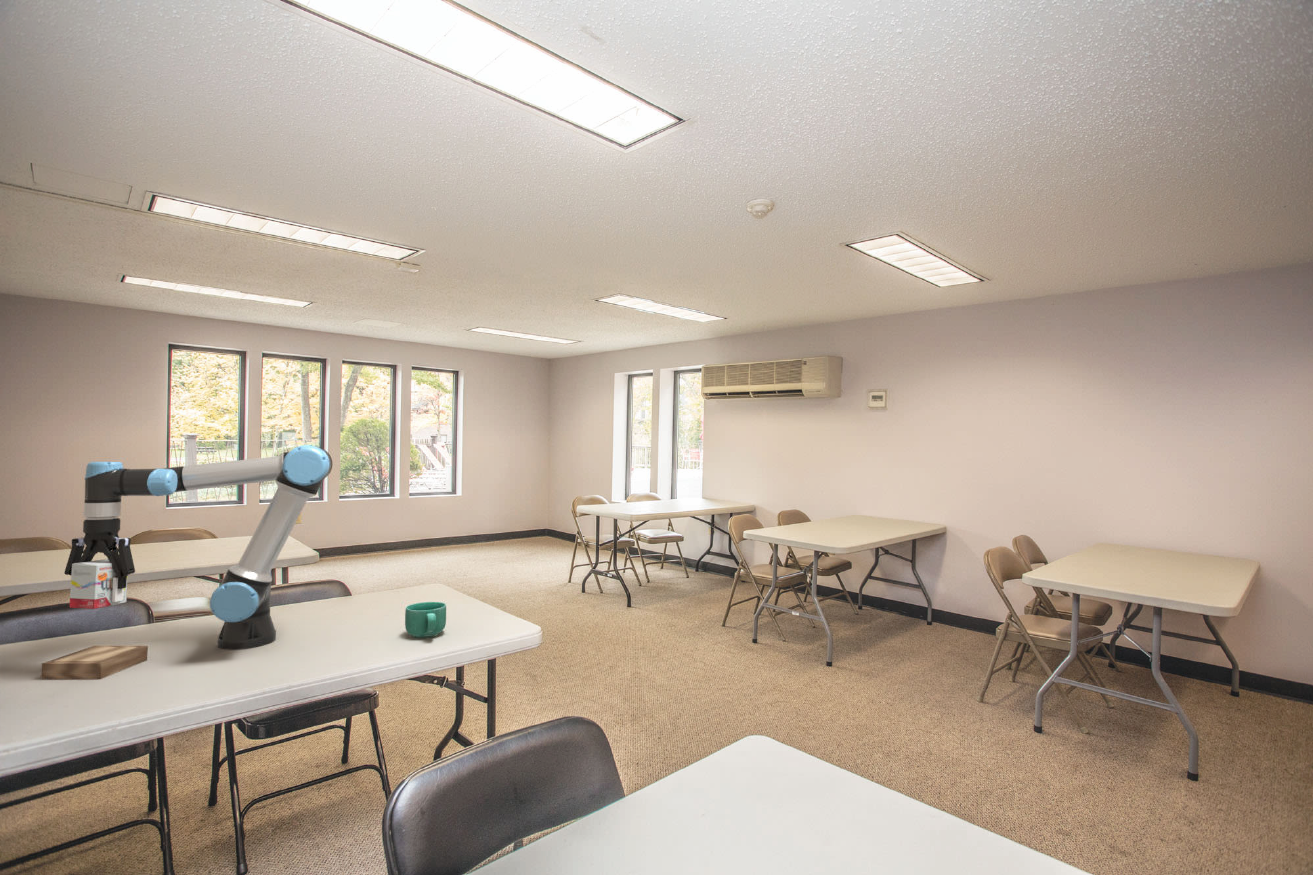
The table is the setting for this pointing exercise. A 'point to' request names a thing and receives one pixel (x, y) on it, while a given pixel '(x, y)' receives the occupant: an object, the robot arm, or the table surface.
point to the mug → (425, 619)
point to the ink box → (93, 585)
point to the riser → (94, 662)
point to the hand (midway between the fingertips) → (98, 600)
